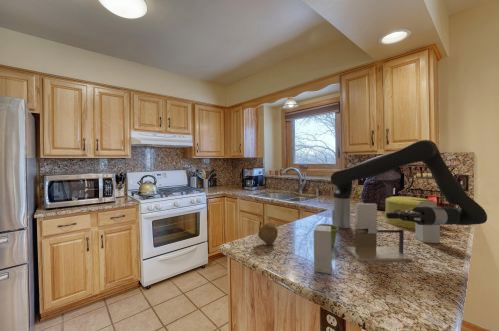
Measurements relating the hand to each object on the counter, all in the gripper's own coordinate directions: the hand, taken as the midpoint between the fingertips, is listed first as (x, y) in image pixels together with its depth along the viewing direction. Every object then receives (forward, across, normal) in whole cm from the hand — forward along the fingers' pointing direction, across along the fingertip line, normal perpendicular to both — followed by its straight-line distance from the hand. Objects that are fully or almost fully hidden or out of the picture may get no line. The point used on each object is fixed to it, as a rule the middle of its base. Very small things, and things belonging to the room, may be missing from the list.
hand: (387, 215), depth 93 cm
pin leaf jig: (+3, +1, -17) cm, 17 cm away
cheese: (-44, +49, -16) cm, 68 cm away
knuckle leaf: (+8, +1, -7) cm, 11 cm away
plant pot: (+21, +11, -17) cm, 29 cm away
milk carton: (-30, +18, -17) cm, 39 cm away
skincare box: (+30, -11, -17) cm, 36 cm away
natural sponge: (+48, +12, -17) cm, 52 cm away
